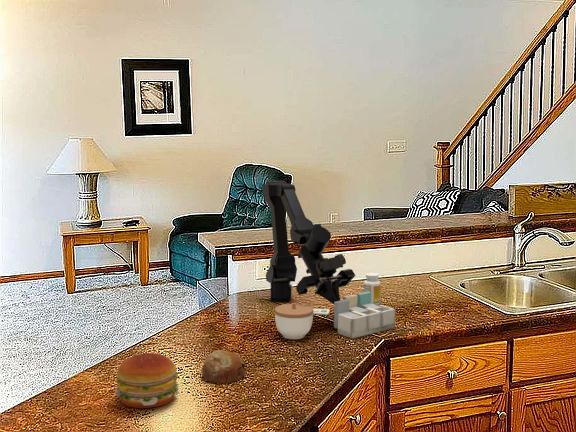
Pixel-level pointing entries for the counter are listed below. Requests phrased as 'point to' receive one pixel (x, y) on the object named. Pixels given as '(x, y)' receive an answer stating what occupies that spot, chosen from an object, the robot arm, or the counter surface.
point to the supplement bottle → (373, 287)
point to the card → (321, 311)
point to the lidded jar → (293, 320)
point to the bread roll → (223, 367)
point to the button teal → (366, 301)
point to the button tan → (355, 304)
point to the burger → (146, 380)
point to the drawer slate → (342, 311)
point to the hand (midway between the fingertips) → (339, 305)
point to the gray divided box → (366, 322)
